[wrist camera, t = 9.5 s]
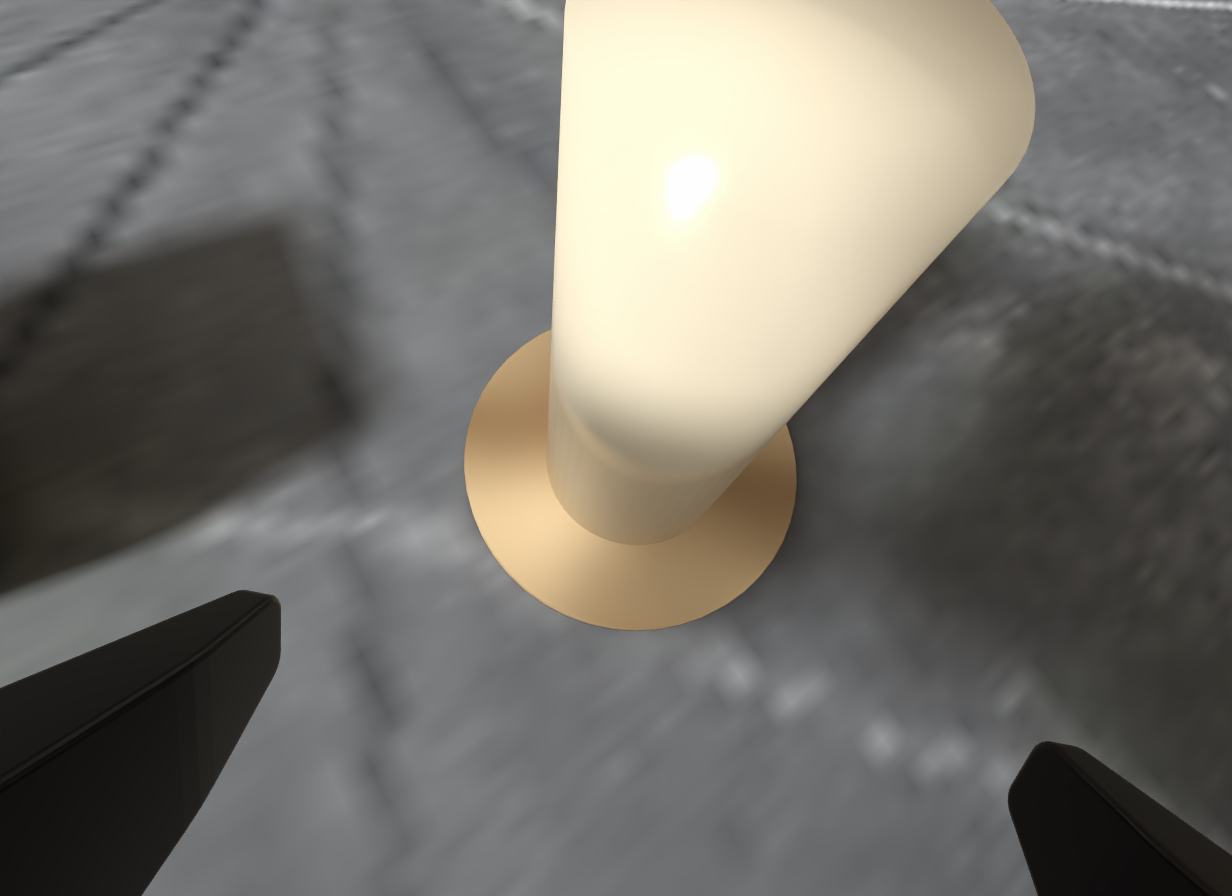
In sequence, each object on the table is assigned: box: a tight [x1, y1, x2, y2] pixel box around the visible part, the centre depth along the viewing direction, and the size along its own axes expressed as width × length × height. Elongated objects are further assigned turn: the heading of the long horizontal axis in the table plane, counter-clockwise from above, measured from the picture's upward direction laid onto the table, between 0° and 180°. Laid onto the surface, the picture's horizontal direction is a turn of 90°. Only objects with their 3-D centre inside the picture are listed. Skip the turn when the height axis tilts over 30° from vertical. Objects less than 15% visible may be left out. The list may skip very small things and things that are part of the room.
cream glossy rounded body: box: [547, 0, 1035, 545], centre depth 13 cm, size 5×5×13 cm
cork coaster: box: [464, 329, 797, 631], centre depth 19 cm, size 10×10×1 cm
